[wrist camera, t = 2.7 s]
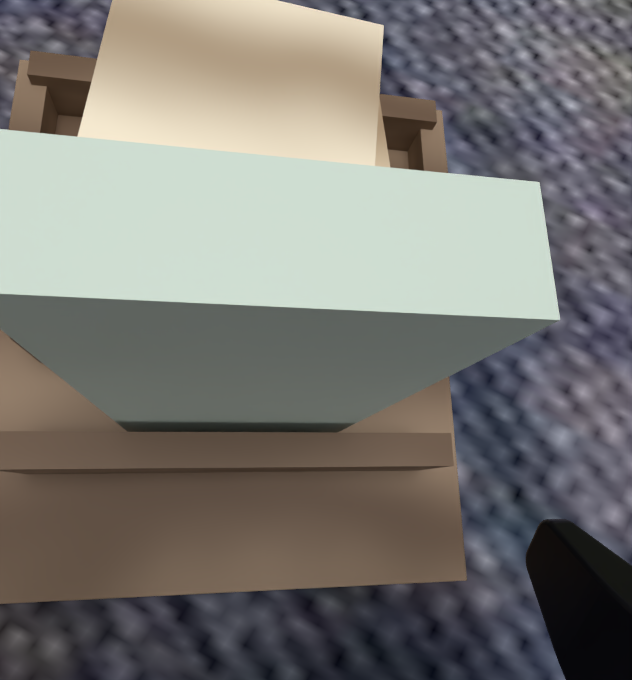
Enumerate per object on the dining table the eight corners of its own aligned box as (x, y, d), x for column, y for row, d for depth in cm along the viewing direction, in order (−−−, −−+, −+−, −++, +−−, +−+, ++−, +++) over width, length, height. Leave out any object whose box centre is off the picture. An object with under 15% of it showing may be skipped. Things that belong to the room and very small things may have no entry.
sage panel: (335, 433, 19) (560, 319, 7) (129, 433, 18) (-47, 291, 6) (333, 378, 20) (539, 182, 7) (133, 373, 18) (-17, 126, 6)
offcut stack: (357, 298, 21) (429, 202, 14) (110, 286, 19) (56, 169, 12) (351, 150, 23) (412, 1, 16) (125, 127, 21) (85, -50, 14)
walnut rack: (456, 577, 19) (513, 595, 16) (-35, 601, 16) (-104, 630, 13) (421, 145, 24) (457, 84, 21) (39, 103, 21) (4, 24, 18)
